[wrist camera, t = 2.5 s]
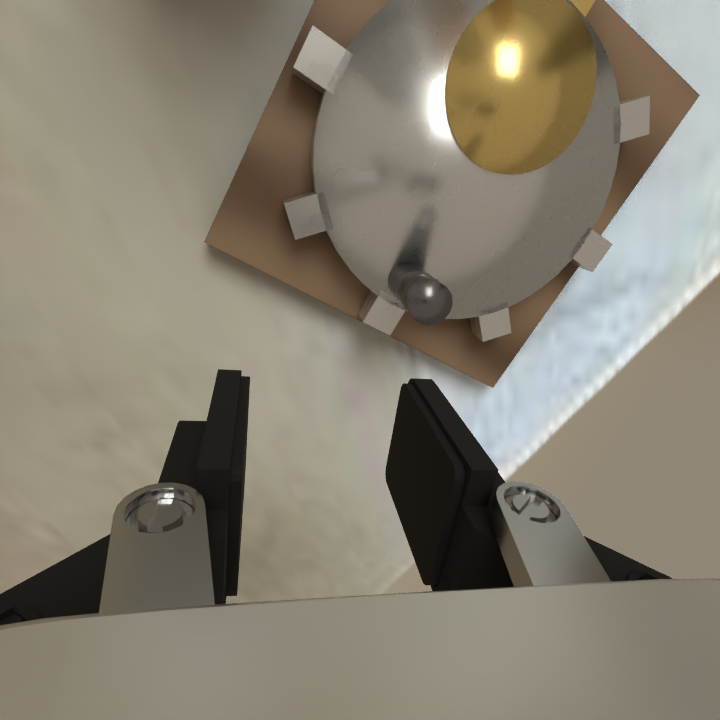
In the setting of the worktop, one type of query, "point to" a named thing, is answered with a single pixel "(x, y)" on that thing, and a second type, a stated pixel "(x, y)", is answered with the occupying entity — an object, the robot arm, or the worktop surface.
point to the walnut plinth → (316, 252)
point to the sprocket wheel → (463, 154)
